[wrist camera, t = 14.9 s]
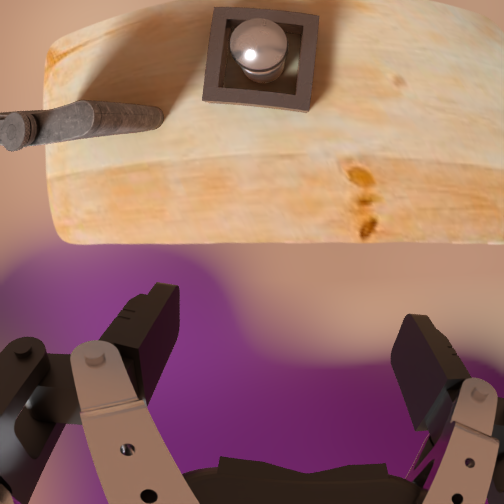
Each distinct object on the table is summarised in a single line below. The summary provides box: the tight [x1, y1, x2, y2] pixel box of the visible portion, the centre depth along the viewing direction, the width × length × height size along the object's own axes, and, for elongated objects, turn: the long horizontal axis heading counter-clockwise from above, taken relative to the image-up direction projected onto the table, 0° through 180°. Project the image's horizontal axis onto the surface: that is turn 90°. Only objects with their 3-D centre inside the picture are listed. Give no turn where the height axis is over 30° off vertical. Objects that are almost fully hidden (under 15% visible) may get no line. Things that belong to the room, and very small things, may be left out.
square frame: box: [202, 7, 319, 113], centre depth 30 cm, size 11×11×4 cm
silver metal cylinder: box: [230, 18, 288, 83], centre depth 27 cm, size 5×5×10 cm
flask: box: [0, 100, 164, 151], centre depth 27 cm, size 4×14×18 cm, turn 84°
